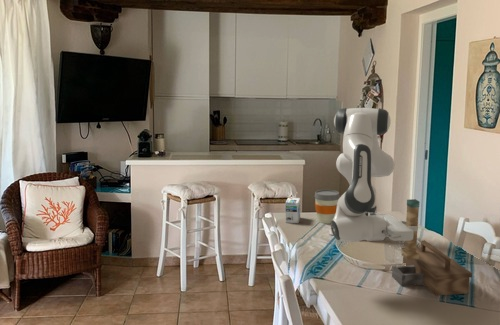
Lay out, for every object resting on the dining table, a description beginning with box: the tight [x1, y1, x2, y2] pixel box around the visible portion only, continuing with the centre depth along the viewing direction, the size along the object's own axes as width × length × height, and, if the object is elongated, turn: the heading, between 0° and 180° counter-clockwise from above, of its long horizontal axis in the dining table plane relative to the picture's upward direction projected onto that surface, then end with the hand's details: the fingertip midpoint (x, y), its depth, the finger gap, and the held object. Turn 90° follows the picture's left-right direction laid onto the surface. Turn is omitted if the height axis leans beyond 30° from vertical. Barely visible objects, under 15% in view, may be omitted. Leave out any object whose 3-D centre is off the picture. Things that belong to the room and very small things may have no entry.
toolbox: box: [391, 240, 473, 296], centre depth 181 cm, size 21×27×12 cm
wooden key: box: [401, 198, 421, 259], centre depth 178 cm, size 4×4×21 cm
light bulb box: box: [285, 196, 301, 224], centre depth 255 cm, size 11×7×11 cm, turn 168°
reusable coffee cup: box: [314, 189, 340, 225], centre depth 253 cm, size 13×12×15 cm
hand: (414, 226), depth 178 cm, fingers closed on wooden key, 3 cm apart
